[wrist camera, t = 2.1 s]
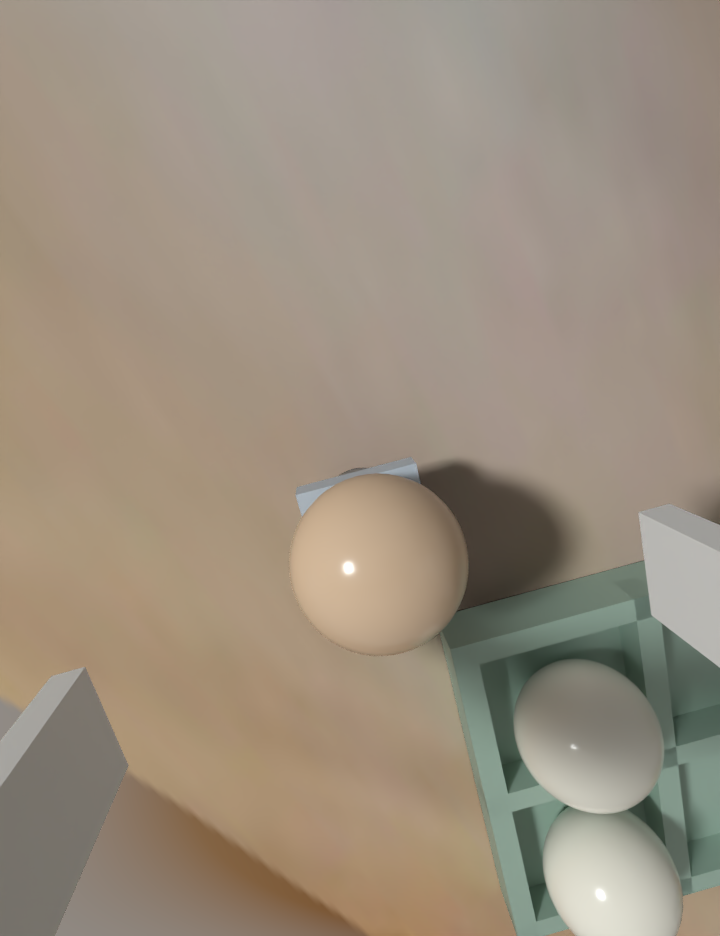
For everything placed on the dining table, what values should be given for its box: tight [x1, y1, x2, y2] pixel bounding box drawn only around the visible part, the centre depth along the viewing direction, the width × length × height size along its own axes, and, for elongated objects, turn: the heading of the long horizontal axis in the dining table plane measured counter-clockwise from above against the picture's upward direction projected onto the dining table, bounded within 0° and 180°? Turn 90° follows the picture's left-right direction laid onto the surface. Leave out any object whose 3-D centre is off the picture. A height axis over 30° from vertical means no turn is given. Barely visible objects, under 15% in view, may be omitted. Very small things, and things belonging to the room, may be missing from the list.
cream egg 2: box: [543, 807, 683, 936], centre depth 22 cm, size 5×5×5 cm
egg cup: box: [296, 457, 421, 516], centre depth 19 cm, size 4×4×4 cm
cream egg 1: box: [513, 659, 664, 814], centre depth 20 cm, size 5×5×5 cm
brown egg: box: [289, 473, 469, 656], centre depth 16 cm, size 5×5×5 cm
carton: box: [440, 561, 720, 936], centre depth 24 cm, size 16×16×2 cm
